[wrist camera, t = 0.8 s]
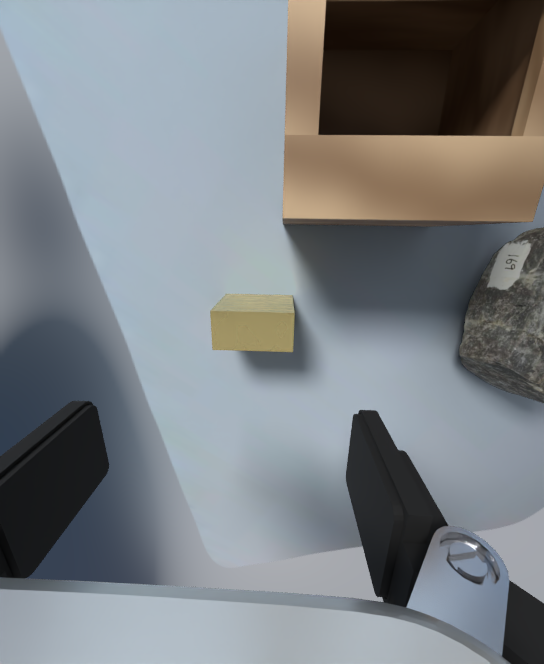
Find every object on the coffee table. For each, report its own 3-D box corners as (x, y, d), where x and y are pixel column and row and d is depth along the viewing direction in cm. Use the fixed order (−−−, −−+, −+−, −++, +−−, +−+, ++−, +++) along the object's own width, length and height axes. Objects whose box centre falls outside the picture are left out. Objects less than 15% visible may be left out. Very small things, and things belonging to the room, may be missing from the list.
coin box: (287, 39, 20) (292, -147, 10) (464, 38, 19) (645, -157, 10) (283, 224, 24) (282, 217, 14) (429, 226, 23) (532, 221, 14)
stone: (424, 264, 28) (524, 208, 18) (489, 262, 29) (618, 207, 19) (445, 406, 26) (567, 428, 17) (513, 399, 27) (668, 417, 17)
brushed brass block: (226, 293, 26) (210, 310, 20) (292, 295, 26) (294, 313, 20) (227, 325, 27) (212, 349, 21) (290, 326, 27) (292, 352, 21)
